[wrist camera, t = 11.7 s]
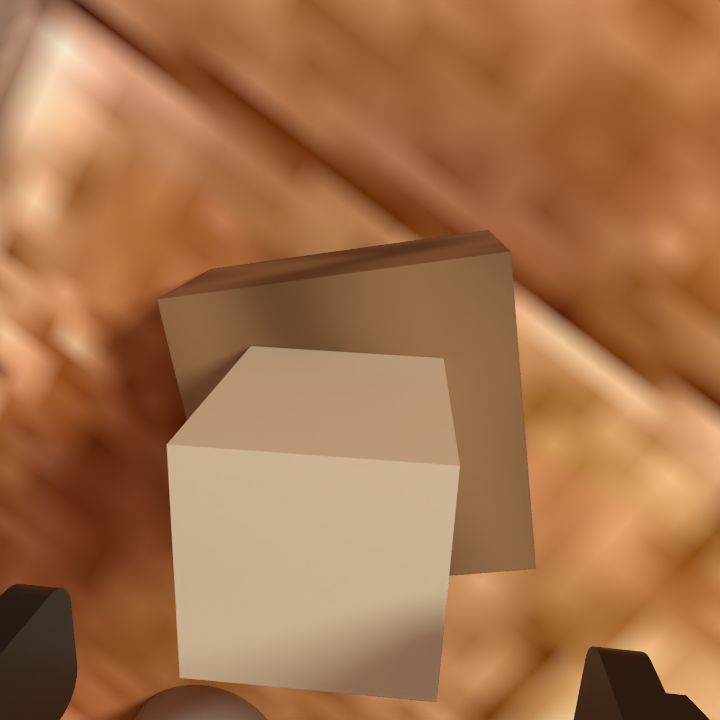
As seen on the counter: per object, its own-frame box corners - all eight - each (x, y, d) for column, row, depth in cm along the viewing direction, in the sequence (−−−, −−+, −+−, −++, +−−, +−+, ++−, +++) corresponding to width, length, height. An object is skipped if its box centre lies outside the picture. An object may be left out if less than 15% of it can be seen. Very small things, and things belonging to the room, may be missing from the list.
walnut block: (487, 228, 20) (510, 251, 15) (510, 482, 23) (536, 569, 18) (213, 267, 21) (156, 299, 16) (265, 505, 24) (229, 592, 19)
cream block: (443, 358, 16) (460, 466, 11) (428, 528, 18) (436, 702, 12) (250, 346, 17) (166, 444, 11) (252, 514, 18) (179, 677, 12)
